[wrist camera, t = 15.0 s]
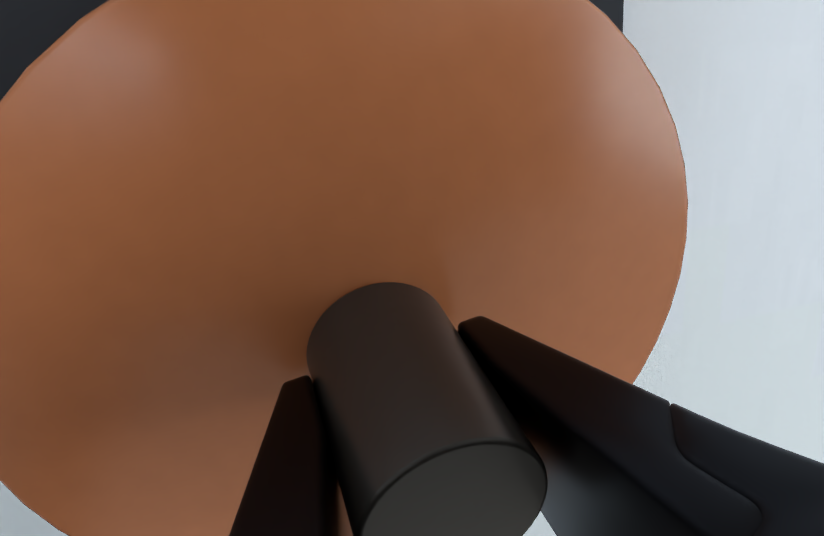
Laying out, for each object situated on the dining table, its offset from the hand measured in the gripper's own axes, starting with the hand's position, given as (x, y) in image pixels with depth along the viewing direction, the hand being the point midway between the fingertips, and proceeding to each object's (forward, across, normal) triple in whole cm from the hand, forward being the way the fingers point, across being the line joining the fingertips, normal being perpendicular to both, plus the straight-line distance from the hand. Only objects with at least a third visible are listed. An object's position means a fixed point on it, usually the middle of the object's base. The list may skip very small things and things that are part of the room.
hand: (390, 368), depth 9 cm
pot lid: (+1, 0, 0) cm, 1 cm away
